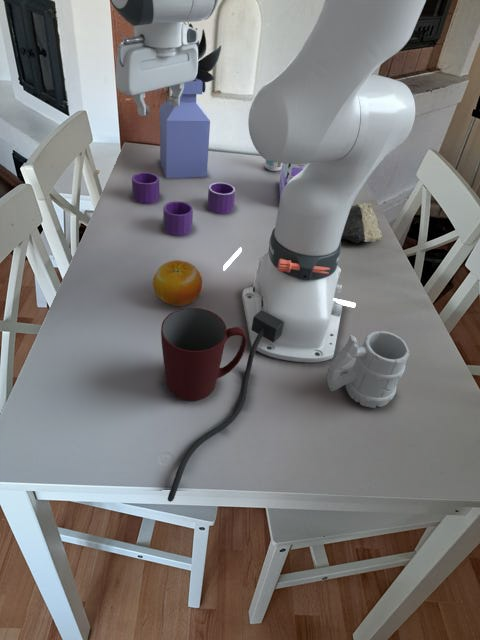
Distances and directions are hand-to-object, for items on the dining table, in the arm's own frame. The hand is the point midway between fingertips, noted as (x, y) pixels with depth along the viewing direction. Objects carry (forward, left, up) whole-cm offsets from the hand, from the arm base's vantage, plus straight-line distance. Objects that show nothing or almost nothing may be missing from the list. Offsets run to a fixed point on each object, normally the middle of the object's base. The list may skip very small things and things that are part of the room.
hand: (159, 110), depth 97 cm
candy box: (+13, -31, -22) cm, 40 cm away
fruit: (-34, -10, -22) cm, 41 cm away
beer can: (+29, -26, -22) cm, 45 cm away
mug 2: (-51, -41, -22) cm, 69 cm away
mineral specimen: (-3, -43, -22) cm, 48 cm away
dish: (-10, -6, -21) cm, 24 cm away
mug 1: (-53, -17, -22) cm, 59 cm away
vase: (+21, -2, -22) cm, 31 cm away
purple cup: (+3, +4, -21) cm, 22 cm away
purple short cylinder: (+2, -14, -21) cm, 26 cm away
